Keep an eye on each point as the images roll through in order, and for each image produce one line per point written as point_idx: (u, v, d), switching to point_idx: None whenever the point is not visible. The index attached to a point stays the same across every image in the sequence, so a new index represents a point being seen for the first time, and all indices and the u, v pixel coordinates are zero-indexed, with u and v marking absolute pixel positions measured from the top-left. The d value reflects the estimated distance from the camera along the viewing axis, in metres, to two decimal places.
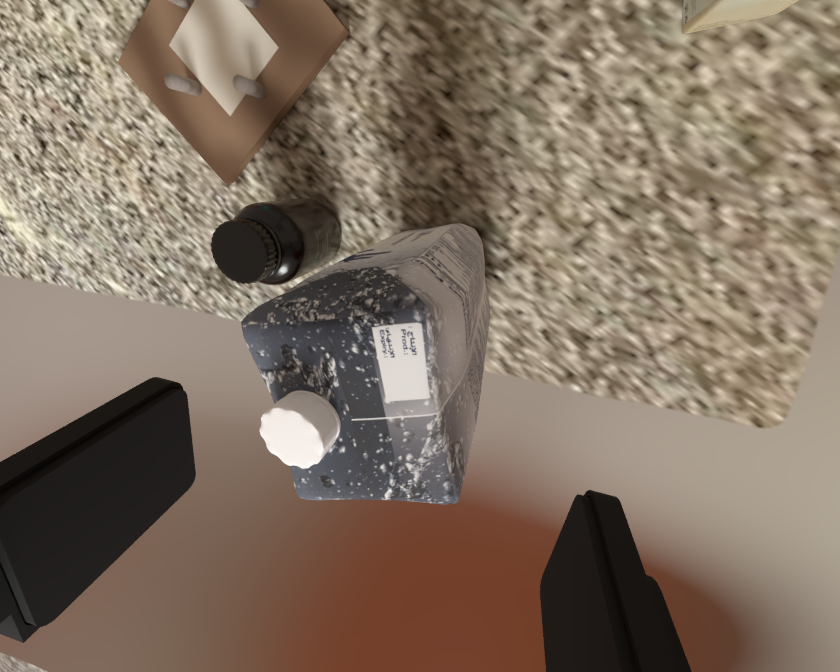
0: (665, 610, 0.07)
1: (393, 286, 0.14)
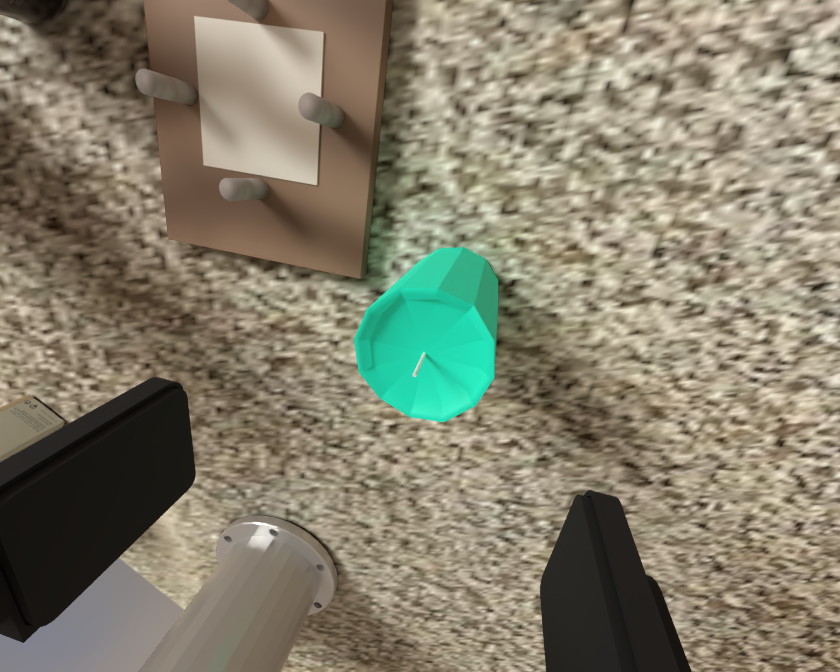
0: (666, 611, 0.07)
1: None
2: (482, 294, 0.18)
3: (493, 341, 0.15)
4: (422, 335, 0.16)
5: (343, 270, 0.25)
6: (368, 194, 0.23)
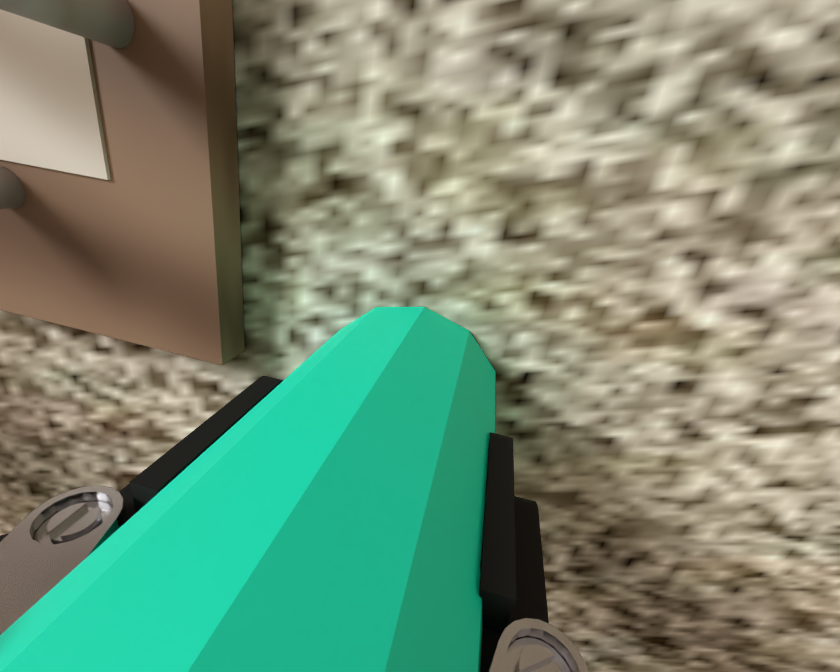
0: (537, 524, 0.08)
1: None
2: (435, 546, 0.05)
3: None
4: None
5: (189, 348, 0.13)
6: (215, 198, 0.11)
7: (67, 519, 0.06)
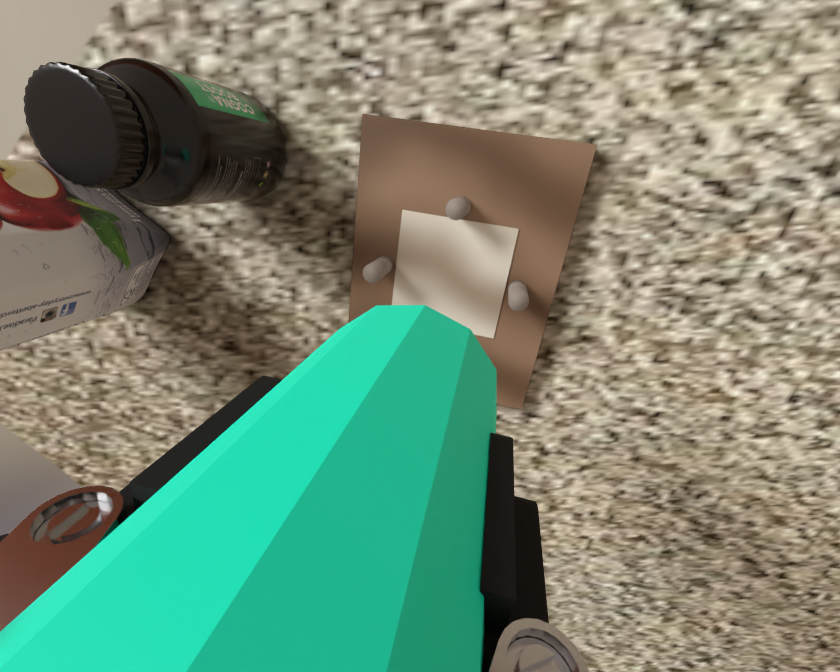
0: (538, 524, 0.08)
1: None
2: (437, 543, 0.05)
3: None
4: None
5: (507, 402, 0.29)
6: (539, 346, 0.27)
7: (67, 519, 0.06)
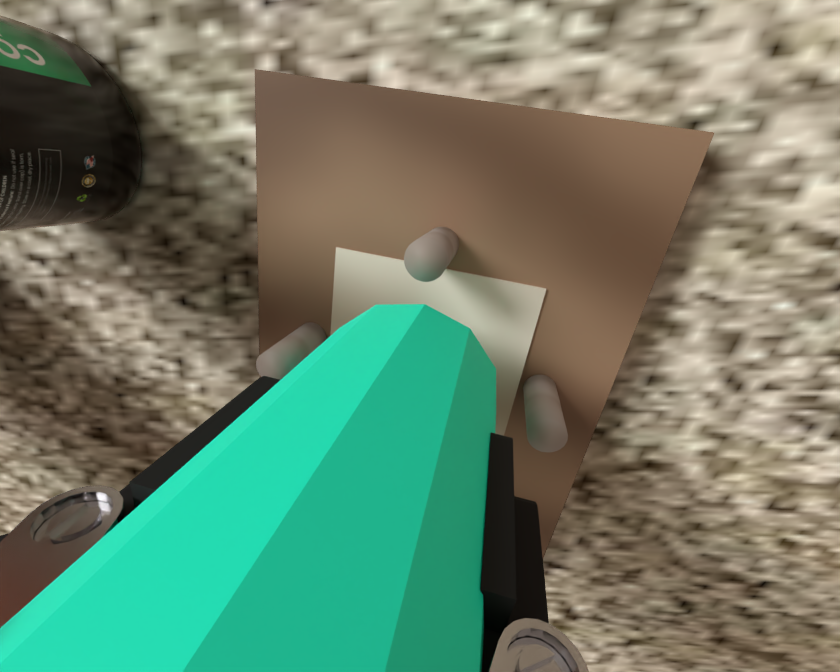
0: (538, 524, 0.08)
1: None
2: (436, 542, 0.05)
3: None
4: None
5: None
6: (573, 479, 0.16)
7: (67, 519, 0.06)
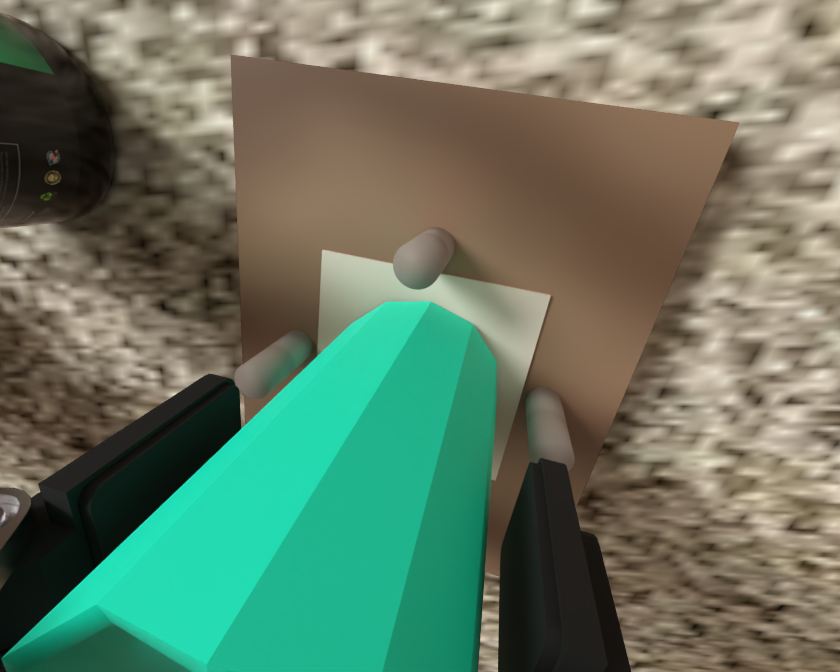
0: (601, 561, 0.07)
1: None
2: (441, 504, 0.06)
3: None
4: None
5: None
6: (578, 498, 0.15)
7: None
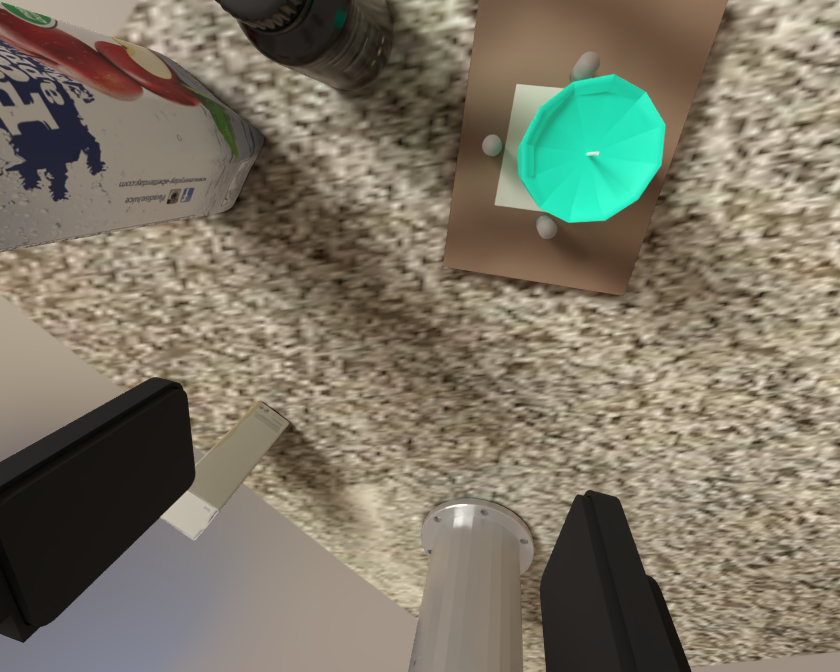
0: (665, 611, 0.07)
1: None
2: None
3: (664, 125, 0.16)
4: (588, 134, 0.17)
5: (609, 289, 0.29)
6: (647, 225, 0.27)
7: None
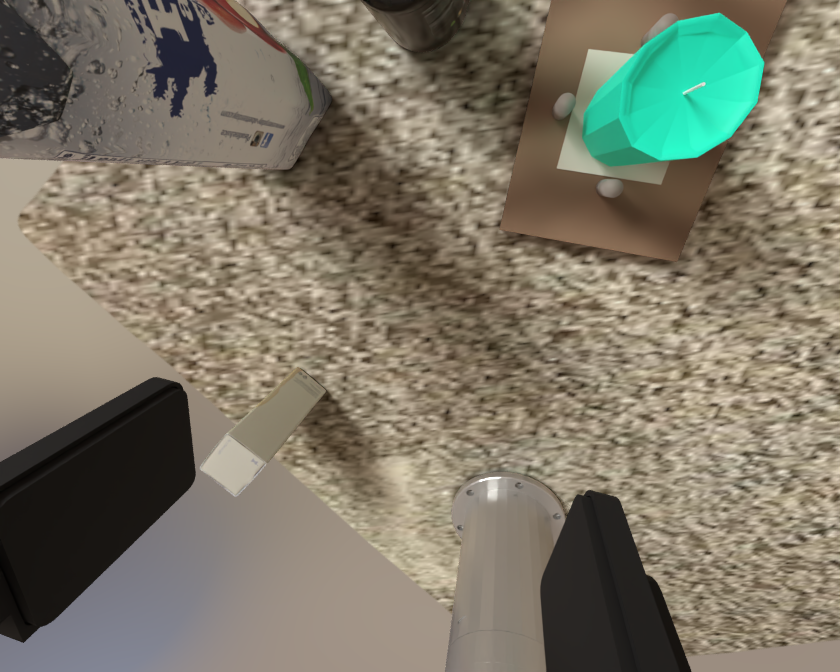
0: (666, 611, 0.07)
1: None
2: None
3: (762, 64, 0.17)
4: (686, 73, 0.18)
5: (663, 255, 0.30)
6: (705, 191, 0.28)
7: None
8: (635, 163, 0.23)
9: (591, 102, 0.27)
